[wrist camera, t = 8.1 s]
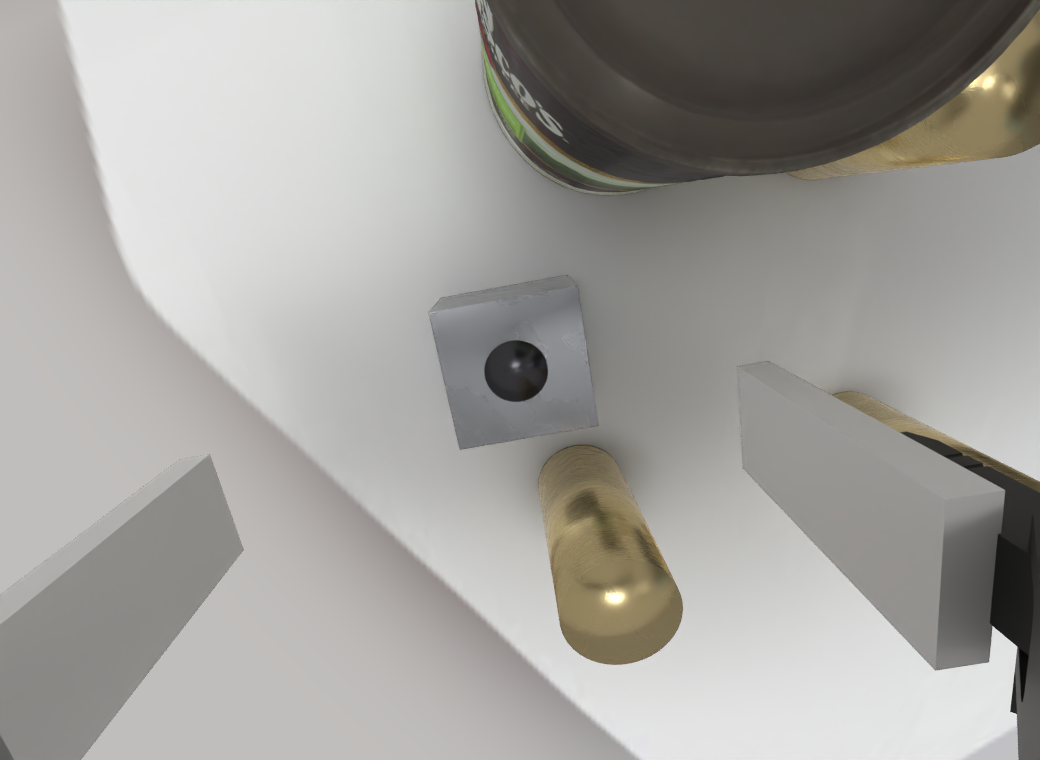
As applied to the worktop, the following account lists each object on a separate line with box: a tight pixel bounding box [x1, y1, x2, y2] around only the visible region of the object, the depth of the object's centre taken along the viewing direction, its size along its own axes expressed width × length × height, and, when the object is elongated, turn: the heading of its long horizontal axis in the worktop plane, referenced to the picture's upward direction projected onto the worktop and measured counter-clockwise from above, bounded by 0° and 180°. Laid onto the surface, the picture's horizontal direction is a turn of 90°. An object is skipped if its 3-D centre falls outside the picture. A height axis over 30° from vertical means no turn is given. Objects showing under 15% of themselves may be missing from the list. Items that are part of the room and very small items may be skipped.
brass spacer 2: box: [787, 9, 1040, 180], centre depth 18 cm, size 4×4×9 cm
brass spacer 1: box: [538, 445, 683, 665], centre depth 22 cm, size 4×4×9 cm
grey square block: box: [429, 275, 598, 450], centre depth 23 cm, size 6×6×4 cm
